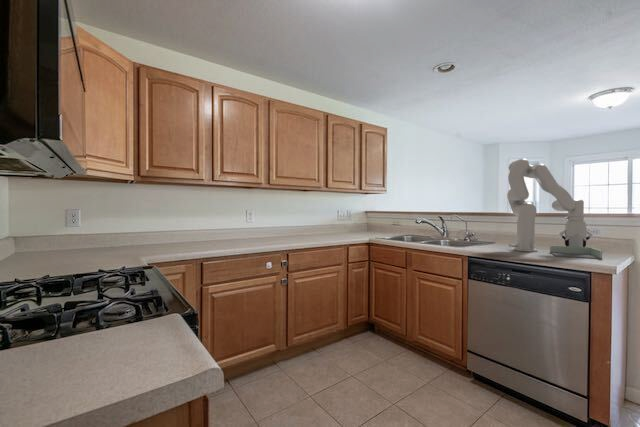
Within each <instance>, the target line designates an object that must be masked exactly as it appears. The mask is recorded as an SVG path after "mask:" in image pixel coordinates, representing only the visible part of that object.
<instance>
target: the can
mask: <svg viewBox="0 0 640 427" xmlns="http://www.w3.org/2000/svg"><path fill="white" fill-rule="evenodd" d="M568 241H569V246H572V247H583V237H582V236H580V235H579V234H575V235H573V236H571V237H569V239H568Z"/></svg>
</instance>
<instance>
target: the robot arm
mask: <svg viewBox="0 0 640 427" xmlns="http://www.w3.org/2000/svg"><path fill="white" fill-rule="evenodd" d="M508 170H509V173H508V176H507V177H508V183H509V188H510V189H508V191H507V194H506V196H507V201H508V204H509V207H510V209H511V212H512V213H513V214H514V215H515V216H516V217H517V221H516V227H517V228H516V242H515V243H508V247H509V248H510V247H514V248H513V250H514V251H517V252H518V251H520V252H532V253H533V252H534V253H536V252H538V249H537V248H535V241H536V240H535V238H536V236H535V235H536V234H535V233H536V232H535V231H536V230H535V229H536V216H537V207H536V205H535V204H534V203H532V202H529V201H528V202H526V200H527V199H528V198H529V197H530V193H529V190H528V187H527V184H526V181H525V178H529V179H535V180H536V182H537V183H538V185H539V186H540V188H541V189H542V191H544V192H545V193H547V194H550V195H551V196H553V197H554V198H555V199H556V200H554V201H553V202H552V204H551V207H552V209H553V210H555V211H557V212H567V216H565V217H564V219H565V220H566V223H565V228H564V230H563V231H561V232H560V233H558V235H559V236H560V237H561V238H562V239H563V240H564V246H569V241H568V239H569V237H571V236H573V235H575V234H579V235H580V236H582V237H583V247H587V241H588V240H590V238H592V237H593V234H592V233H591V232H590V231H587V230H588V229H587V222H586V221H584V214H585V213H584V209H585V207H584V206H585V205H584V204H585V202H584V199H573V197H572V195H571V194H570V193H569V192H568V191H567V189H565V188H564V187H563V186H562V185H561V184H559V183H558V182H557V180H556V179H555V178H554V176H553V175H552V173H551V171H550V169H549V168H548V167H547V166H546V165H545V164H543V163H538V164H534V165H532V164H530V162H529V160H528V159H526V158H518V159H517V160H515V161H512V162H510V164H509V165H508Z"/></svg>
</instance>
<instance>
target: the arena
mask: <svg viewBox="0 0 640 427" xmlns="http://www.w3.org/2000/svg"><path fill="white" fill-rule="evenodd" d="M549 253H550V254H551V255H552V256H554V255H555V256H554V257H556V256H560V257H559V258H572V257H574V259H575V258H576V259H591V260H593V259H594V260H603V250H601V249H599V248H595V247H589V246H585V247H572V246H566V245H549Z"/></svg>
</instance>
